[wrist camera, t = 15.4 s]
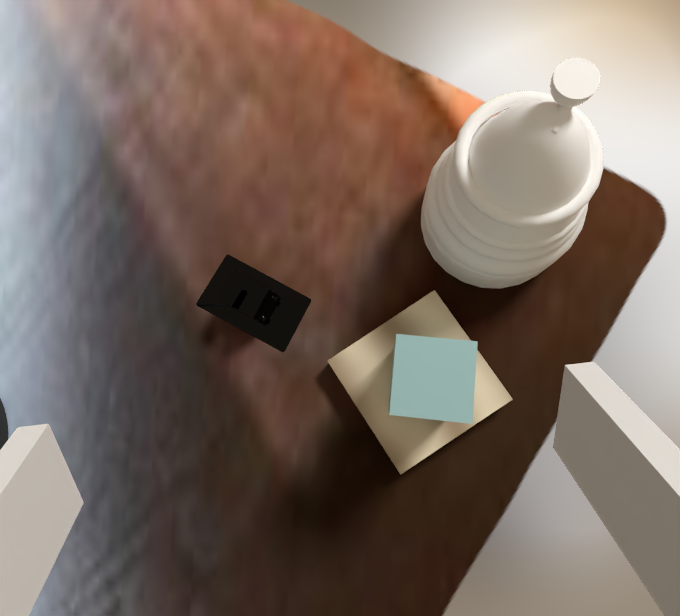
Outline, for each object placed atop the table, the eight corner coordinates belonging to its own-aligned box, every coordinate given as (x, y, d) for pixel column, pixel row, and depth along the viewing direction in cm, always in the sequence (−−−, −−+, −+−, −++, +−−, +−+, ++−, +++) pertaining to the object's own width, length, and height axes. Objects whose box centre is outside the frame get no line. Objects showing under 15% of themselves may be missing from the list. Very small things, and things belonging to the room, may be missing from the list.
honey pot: (455, 133, 47) (500, -24, 29) (586, 186, 45) (719, 51, 28) (397, 252, 46) (408, 162, 28) (531, 312, 44) (634, 256, 26)
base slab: (399, 469, 43) (400, 474, 40) (330, 362, 45) (327, 360, 42) (505, 399, 43) (512, 399, 41) (431, 295, 45) (434, 290, 43)
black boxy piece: (181, 305, 47) (160, 295, 42) (221, 239, 48) (204, 222, 43) (295, 369, 45) (285, 366, 40) (334, 299, 46) (329, 288, 41)
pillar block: (449, 415, 41) (472, 423, 30) (388, 408, 41) (389, 414, 30) (453, 354, 42) (477, 341, 31) (393, 348, 42) (396, 333, 31)
